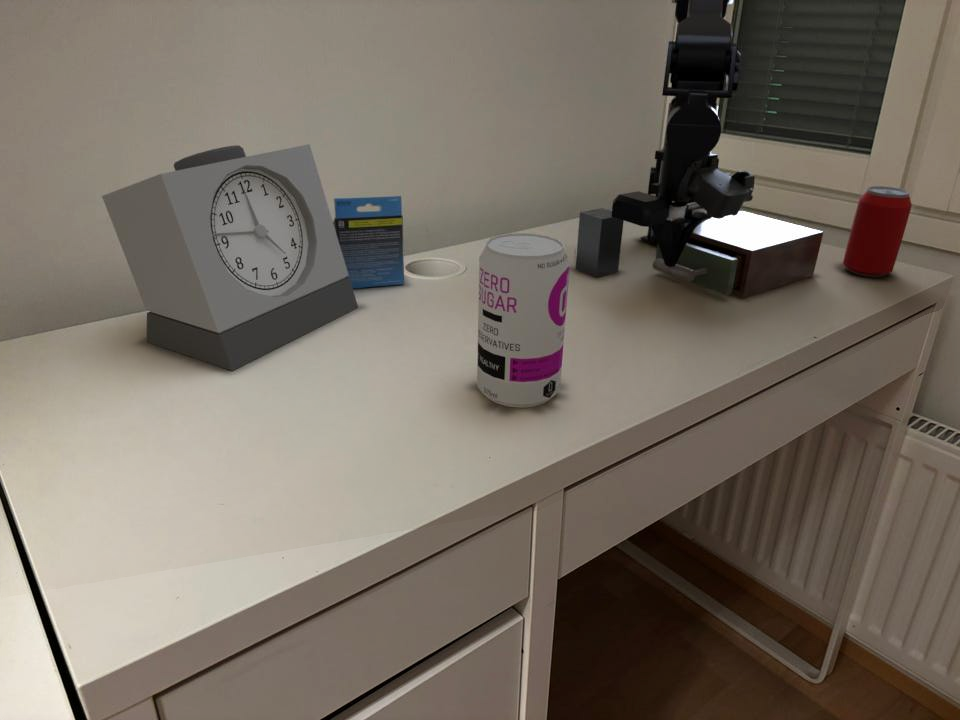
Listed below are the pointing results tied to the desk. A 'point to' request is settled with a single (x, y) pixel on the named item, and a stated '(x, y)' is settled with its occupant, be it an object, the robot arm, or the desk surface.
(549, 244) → the supplement can
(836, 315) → the desk surface
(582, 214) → the steel block
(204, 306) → the alarm clock
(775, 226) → the cabinet
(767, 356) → the desk surface
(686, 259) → the rack drawer
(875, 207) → the beverage can
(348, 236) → the label tape box
